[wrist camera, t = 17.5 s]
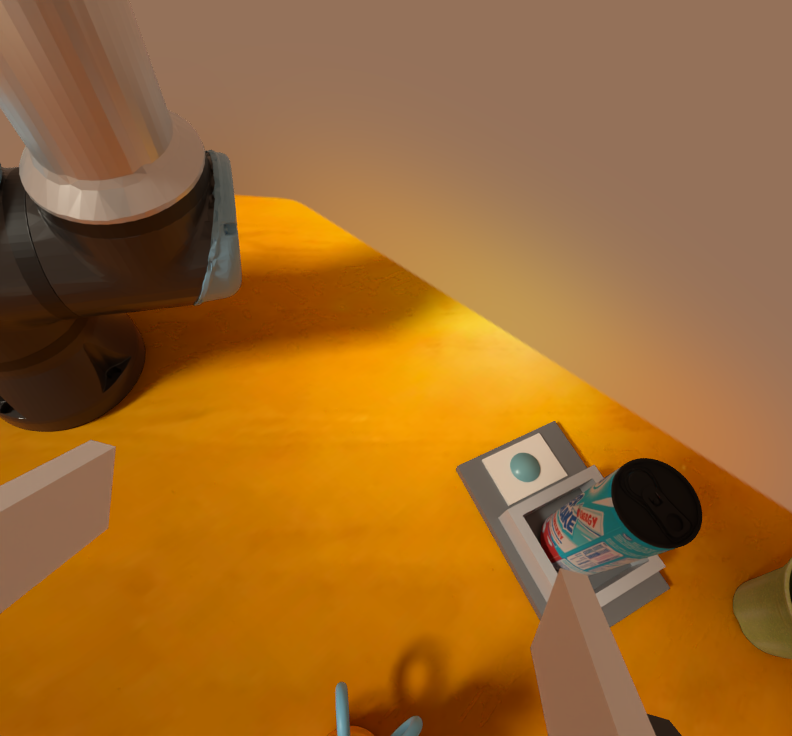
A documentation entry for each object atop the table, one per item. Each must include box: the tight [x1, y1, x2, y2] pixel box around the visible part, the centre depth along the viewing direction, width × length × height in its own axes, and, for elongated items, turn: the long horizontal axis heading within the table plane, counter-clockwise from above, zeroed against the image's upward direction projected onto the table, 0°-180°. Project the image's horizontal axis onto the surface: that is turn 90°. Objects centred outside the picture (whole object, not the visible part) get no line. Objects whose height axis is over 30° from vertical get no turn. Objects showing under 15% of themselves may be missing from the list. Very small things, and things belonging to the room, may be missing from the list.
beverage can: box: [540, 458, 702, 576], centre depth 38 cm, size 6×6×15 cm
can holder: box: [456, 421, 670, 627], centre depth 45 cm, size 18×12×4 cm, turn 26°
